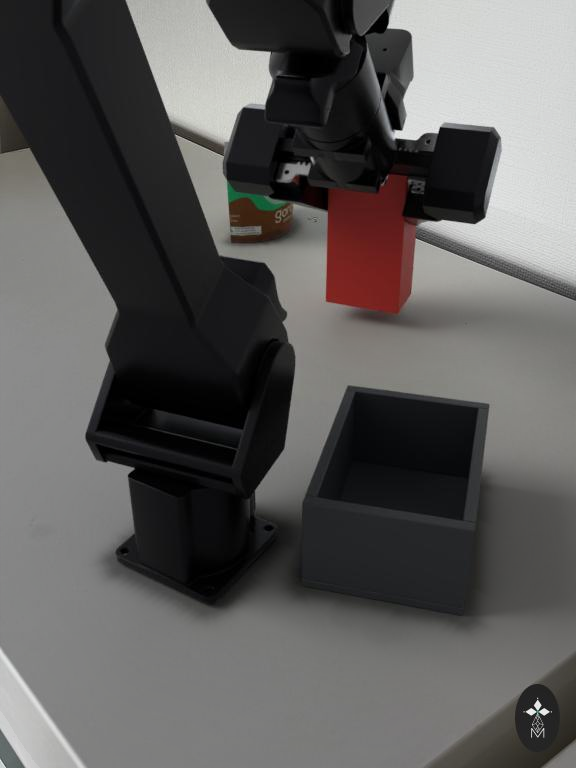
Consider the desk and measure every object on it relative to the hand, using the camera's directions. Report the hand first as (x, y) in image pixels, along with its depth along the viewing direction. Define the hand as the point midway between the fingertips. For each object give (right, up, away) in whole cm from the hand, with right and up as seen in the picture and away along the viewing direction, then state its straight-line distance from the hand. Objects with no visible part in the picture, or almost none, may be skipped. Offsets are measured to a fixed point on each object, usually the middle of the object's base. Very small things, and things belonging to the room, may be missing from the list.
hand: (378, 214), depth 68 cm
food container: (-9, +2, +20) cm, 22 cm away
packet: (-1, -6, +2) cm, 7 cm away
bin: (-1, -21, -19) cm, 29 cm away
